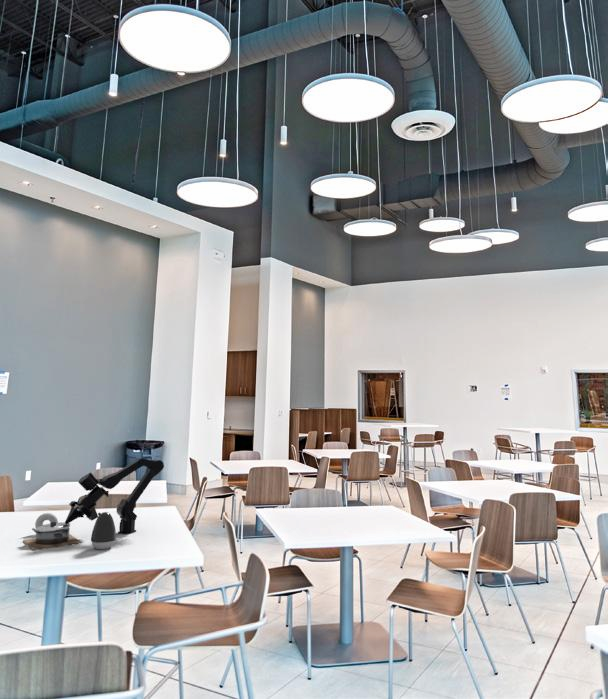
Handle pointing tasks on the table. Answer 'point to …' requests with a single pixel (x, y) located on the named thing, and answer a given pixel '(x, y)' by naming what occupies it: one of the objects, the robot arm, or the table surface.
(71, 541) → the walnut trivet
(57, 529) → the cooker lid
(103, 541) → the dark grey egg shape
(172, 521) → the table surface
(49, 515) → the donut
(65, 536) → the cooking pot
